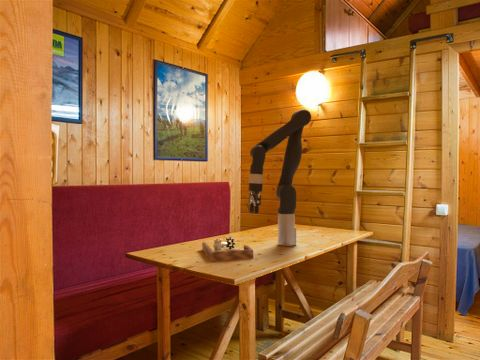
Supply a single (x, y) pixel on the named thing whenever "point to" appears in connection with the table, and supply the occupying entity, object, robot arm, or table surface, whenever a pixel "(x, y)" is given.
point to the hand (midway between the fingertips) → (253, 212)
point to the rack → (227, 253)
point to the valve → (223, 244)
